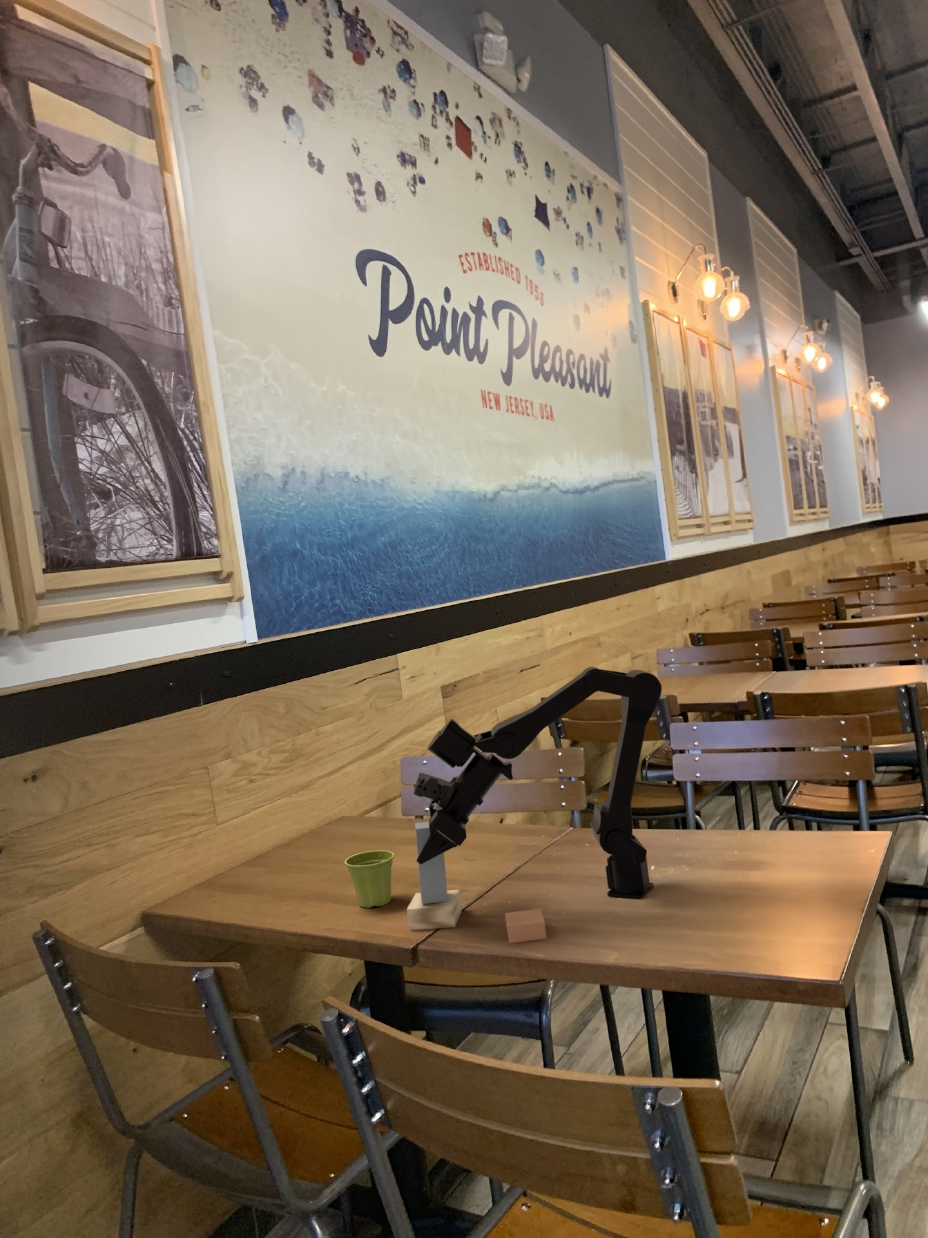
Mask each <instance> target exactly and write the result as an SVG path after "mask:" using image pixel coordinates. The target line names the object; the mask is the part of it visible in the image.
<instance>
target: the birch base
mask: <svg viewBox="0 0 928 1238" xmlns="http://www.w3.org/2000/svg"><path fill="white" fill-rule="evenodd" d="M447 897H448V901H446V902H436V903H427V904H422V901H421V892H415V894H414V896H413V897H412V899H411V901H410V903H409V904H408V906H407V907H406V915H407V922H408V929H409V930H408V931H416V930H417V931H418V930H419V931H420V930H430V929H445V928H446V929H447V928H455V927H456V926H457V924H458V921H459V918H460V916H461V913H462V912H463V911H462V910H463V907H462V899H461V890H460V889H451V890H448V889H447Z"/></svg>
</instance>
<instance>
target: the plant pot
mask: <svg viewBox="0 0 928 1238" xmlns="http://www.w3.org/2000/svg"><path fill="white" fill-rule="evenodd" d="M394 858H395V853H394V852H392V851H390V850H385V849H384V850H383V849H381V850H380V849H377V850H368V851H363V852H359V853H356V854H353V855H350V856H348V857H347V858H346V859H345V860H344V865H345V866H346V867H347V869H348V870H347V871H348V872H349V873H350V875H351V879H352V883H353V887H354V891H355V894H356V895H355V896H356V898H357V902H358V905H359V906H360V907H362V908H367V909H368V908H372V907H375V906H376V907H383V906H384V905H387V904H389V903H390V902H391V900H392V867H393V864H394V861H393V859H394Z"/></svg>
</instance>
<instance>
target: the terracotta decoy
mask: <svg viewBox="0 0 928 1238" xmlns="http://www.w3.org/2000/svg"><path fill="white" fill-rule="evenodd" d="M504 918H505V924H506V933H507V937H508V944H515V943H523V942H530V941H536V940H542V939H543V940H545V939H547V931H546V924H545V918H544V916H543V912H542V908H540V907H539V908H534V909H527V910H526V909H525V910H519V911H513V912H512V911H511V912H505V913H504Z"/></svg>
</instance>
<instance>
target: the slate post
mask: <svg viewBox="0 0 928 1238" xmlns="http://www.w3.org/2000/svg"><path fill="white" fill-rule="evenodd" d="M414 827H415V837H416V839H415V840H416V850H417V851H416V852H417V857H418V856H419V854H420V852H421V850H422V848H423V846H424V845H425V843H426V841H427V839H428V837H429V835H430V829H429V822H428V821H423V822H415V823H414ZM417 865H418V877H419V886H420V887H419V888H420V893H421V901H422V904H427V903H436V902H446V901H448V897H447V891H448V887H447V874H446V862H445V852H444V853H442V854H440V855H438V856H436V857H434V858H432V859H431V860H429V861H427V862H425V863H423V864H419V863H418V862H417Z"/></svg>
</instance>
